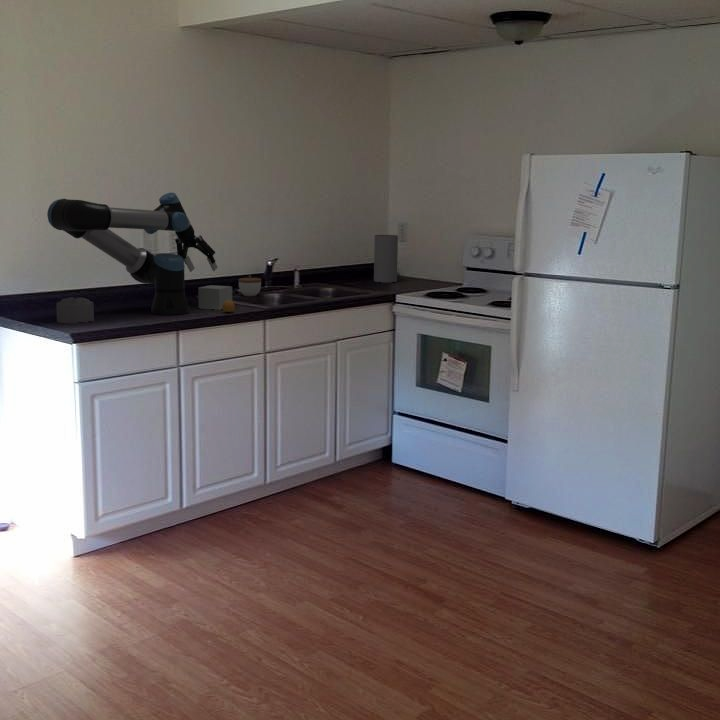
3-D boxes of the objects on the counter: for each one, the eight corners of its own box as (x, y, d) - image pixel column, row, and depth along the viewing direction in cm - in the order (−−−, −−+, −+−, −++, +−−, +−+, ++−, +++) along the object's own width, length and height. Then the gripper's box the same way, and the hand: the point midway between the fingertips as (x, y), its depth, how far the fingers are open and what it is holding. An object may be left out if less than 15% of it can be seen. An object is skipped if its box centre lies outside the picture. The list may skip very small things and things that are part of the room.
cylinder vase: (401, 282, 489) (402, 235, 484) (386, 283, 480) (387, 236, 475) (384, 280, 497) (385, 234, 492) (369, 281, 488) (369, 235, 483)
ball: (228, 313, 364) (228, 301, 363) (219, 312, 367) (219, 300, 366) (237, 312, 368) (237, 300, 367) (228, 311, 371) (228, 299, 370)
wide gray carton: (219, 310, 374) (219, 289, 372) (198, 308, 377) (198, 287, 376) (232, 307, 383) (232, 286, 381) (211, 305, 387) (211, 285, 385)
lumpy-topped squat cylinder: (96, 321, 340) (95, 298, 338) (62, 324, 332) (61, 301, 330) (86, 318, 348) (85, 295, 346) (52, 320, 340) (51, 298, 338)
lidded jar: (234, 296, 420) (234, 275, 418) (245, 293, 429) (245, 273, 428) (254, 297, 416) (254, 277, 414) (265, 294, 426) (265, 275, 424)
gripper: (209, 221, 375) (230, 264, 386) (167, 224, 389) (188, 265, 400) (199, 230, 370) (220, 274, 381) (156, 233, 384) (178, 275, 395)
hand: (203, 269), depth 391 cm, fingers open, 13 cm apart
